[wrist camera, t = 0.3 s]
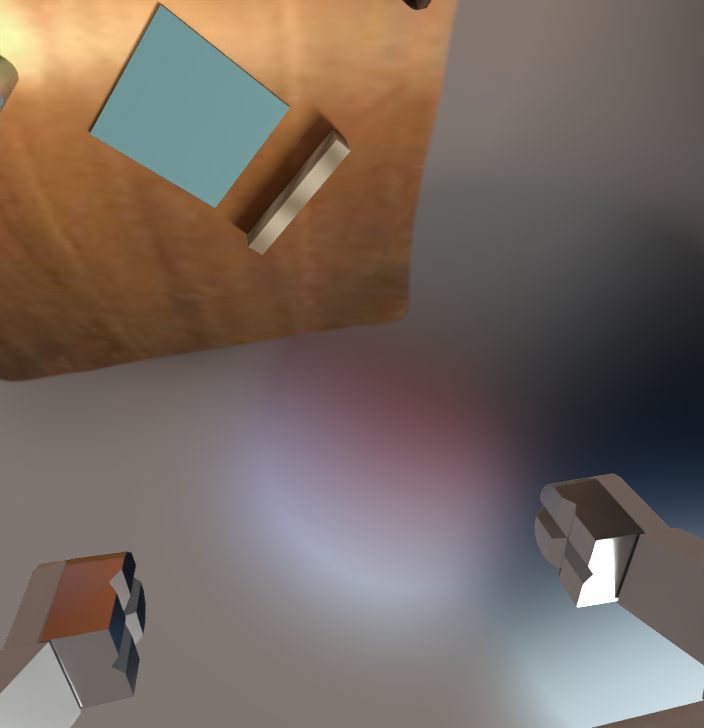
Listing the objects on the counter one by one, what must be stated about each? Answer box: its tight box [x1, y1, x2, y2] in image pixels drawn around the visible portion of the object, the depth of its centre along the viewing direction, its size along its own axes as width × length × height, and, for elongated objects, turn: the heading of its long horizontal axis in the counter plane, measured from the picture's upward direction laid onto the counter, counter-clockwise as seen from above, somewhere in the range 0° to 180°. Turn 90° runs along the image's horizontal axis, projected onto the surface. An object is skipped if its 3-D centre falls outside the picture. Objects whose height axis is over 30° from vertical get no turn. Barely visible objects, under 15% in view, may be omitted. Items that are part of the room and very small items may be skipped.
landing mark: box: [90, 4, 290, 208], centre depth 53 cm, size 14×14×1 cm
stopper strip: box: [247, 129, 350, 255], centre depth 60 cm, size 16×2×2 cm, turn 137°
